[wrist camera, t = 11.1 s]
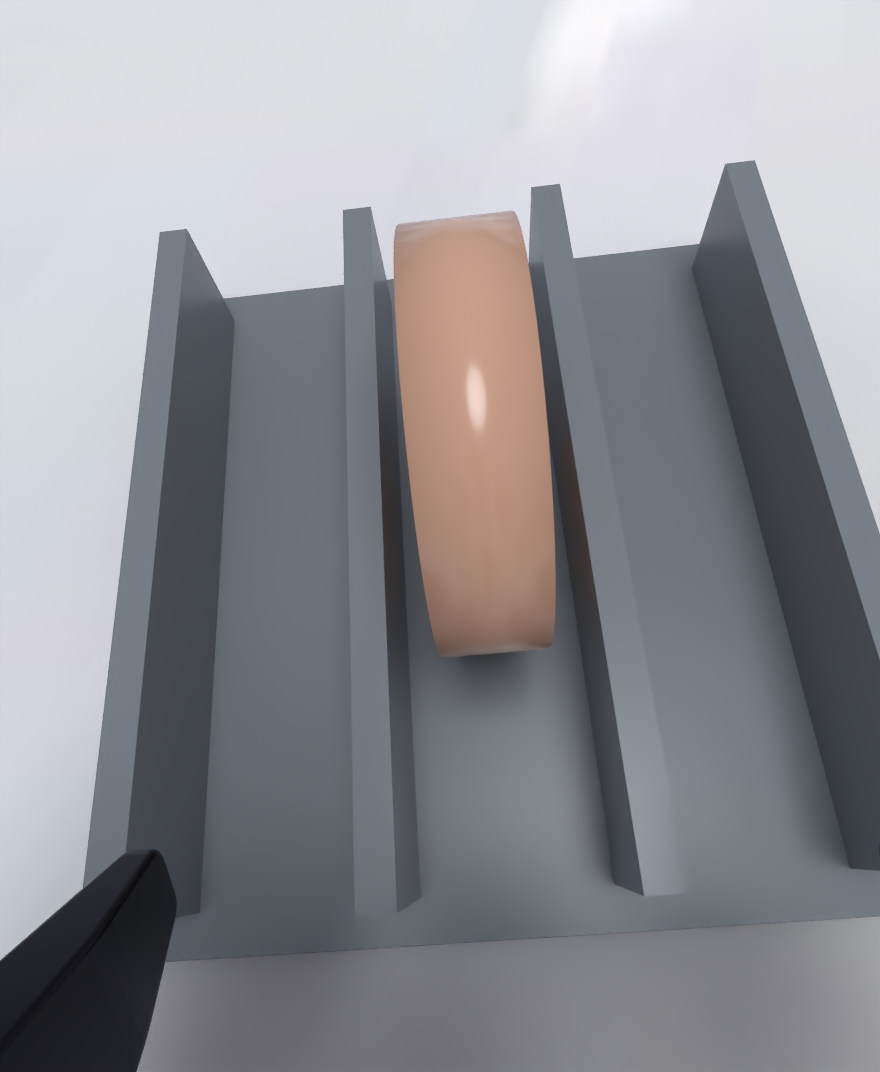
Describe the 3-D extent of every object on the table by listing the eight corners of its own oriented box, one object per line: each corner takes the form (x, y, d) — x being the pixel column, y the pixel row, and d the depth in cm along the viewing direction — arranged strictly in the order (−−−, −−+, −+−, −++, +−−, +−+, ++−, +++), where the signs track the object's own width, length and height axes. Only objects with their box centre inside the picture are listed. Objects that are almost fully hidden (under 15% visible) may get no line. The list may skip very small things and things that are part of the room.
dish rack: (926, 909, 17) (1074, 933, 12) (139, 959, 18) (18, 998, 14) (733, 257, 25) (782, 130, 20) (194, 318, 26) (130, 210, 21)
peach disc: (559, 693, 19) (609, 552, 10) (437, 703, 19) (371, 575, 10) (522, 402, 22) (532, 96, 13) (419, 412, 22) (358, 117, 13)
